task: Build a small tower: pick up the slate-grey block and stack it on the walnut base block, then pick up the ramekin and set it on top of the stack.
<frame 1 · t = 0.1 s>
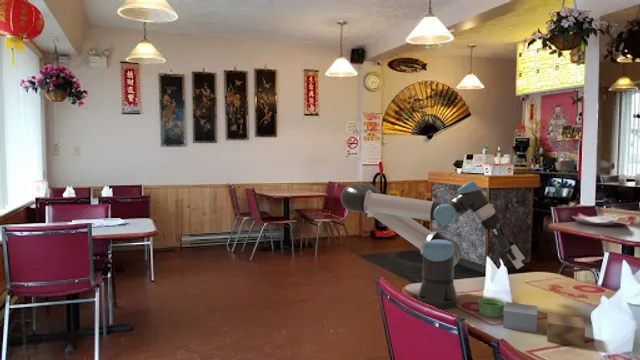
hand: (521, 263, 186), 15 cm above the table, tool tilted 35°, fingers open, 13 cm apart
slate-grey block: (520, 325, 162), on the table
ramekin: (491, 314, 173), on the table
walnut base block: (564, 339, 150), on the table
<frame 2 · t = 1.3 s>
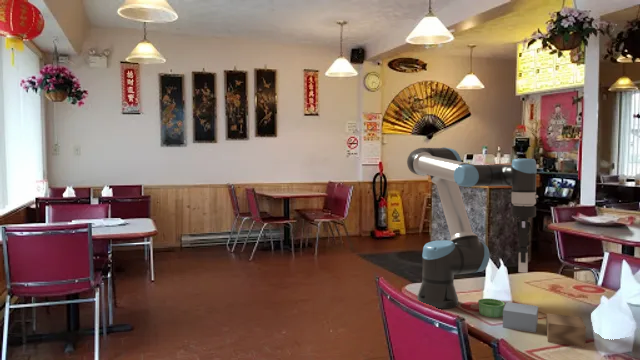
hand: (523, 268, 162), 19 cm above the table, tool pointing down, fingers open, 13 cm apart
nothing on the table moved.
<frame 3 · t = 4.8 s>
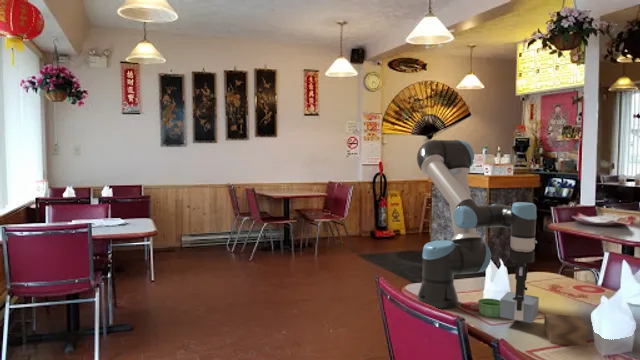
hand: (519, 314, 162), 4 cm above the table, tool pointing down, fingers closed on slate-grey block, 11 cm apart
slate-grey block: (519, 315, 163), point 3 cm above the table, touching gripper
everything else where it was.
when the fingers open (7 cm above the table, at t = 9.4 s): slate-grey block drops 1 cm, resting on walnut base block.
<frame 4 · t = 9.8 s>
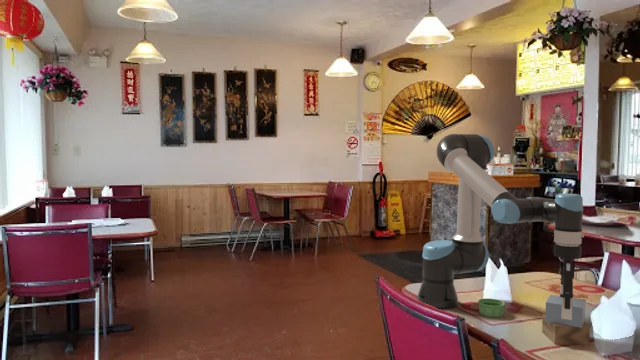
hand: (565, 312, 150), 8 cm above the table, tool pointing down, fingers open, 13 cm apart
slate-grey block: (565, 319, 150), point 6 cm above the table, touching walnut base block
walnut base block: (564, 339, 150), on the table, touching slate-grey block
everything else where it was.
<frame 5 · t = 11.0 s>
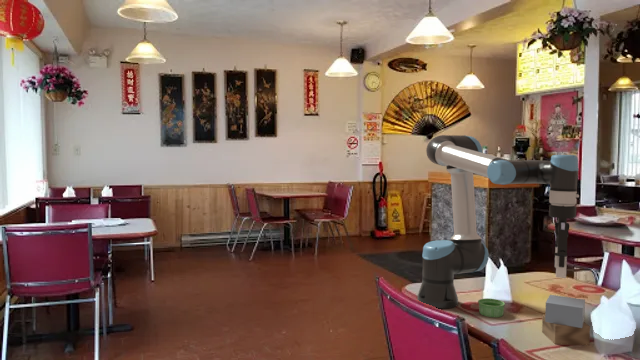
hand: (560, 272, 151), 20 cm above the table, tool pointing down, fingers open, 13 cm apart
slate-grey block: (565, 320, 150), point 6 cm above the table
walnut base block: (564, 339, 150), on the table
everything else where it was.
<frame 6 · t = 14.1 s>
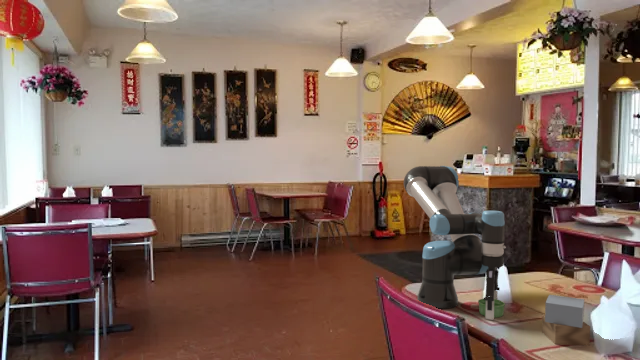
hand: (491, 313, 173), 0 cm above the table, tool pointing down, fingers open, 13 cm apart
nothing on the table moved.
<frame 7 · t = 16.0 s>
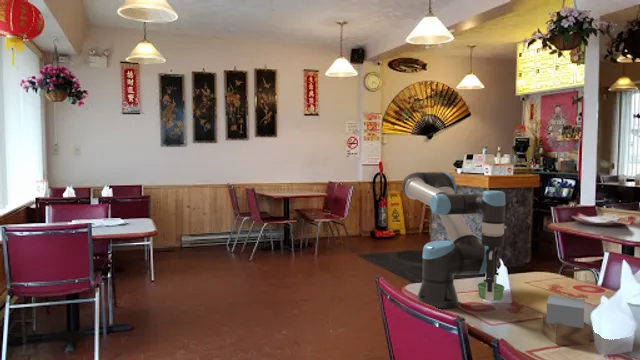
hand: (490, 296, 174), 6 cm above the table, tool pointing down, fingers closed on ramekin, 9 cm apart
slate-grey block: (565, 320, 150), point 6 cm above the table, touching walnut base block
ramekin: (490, 298, 174), point 5 cm above the table, touching gripper
walnut base block: (565, 339, 150), on the table, touching slate-grey block
when the fingers open (13 cm above the table, at t = 21.1 s): ramekin stays where it is, resting on slate-grey block.
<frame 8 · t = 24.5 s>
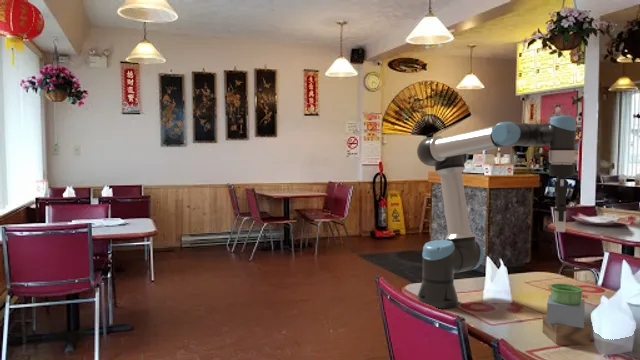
hand: (559, 228, 158), 33 cm above the table, tool pointing down, fingers open, 13 cm apart
slate-grey block: (565, 320, 150), point 6 cm above the table, touching ramekin, walnut base block
ramekin: (565, 302, 149), point 12 cm above the table, touching slate-grey block
everything else where it was.
at the end: slate-grey block 0.2 cm off-centre on the walnut base block, point 6.0 cm above the walnut base block's base; ramekin 0.3 cm off-centre on the walnut base block, point 11.8 cm above the walnut base block's base; slate-grey block tilted 0° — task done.
